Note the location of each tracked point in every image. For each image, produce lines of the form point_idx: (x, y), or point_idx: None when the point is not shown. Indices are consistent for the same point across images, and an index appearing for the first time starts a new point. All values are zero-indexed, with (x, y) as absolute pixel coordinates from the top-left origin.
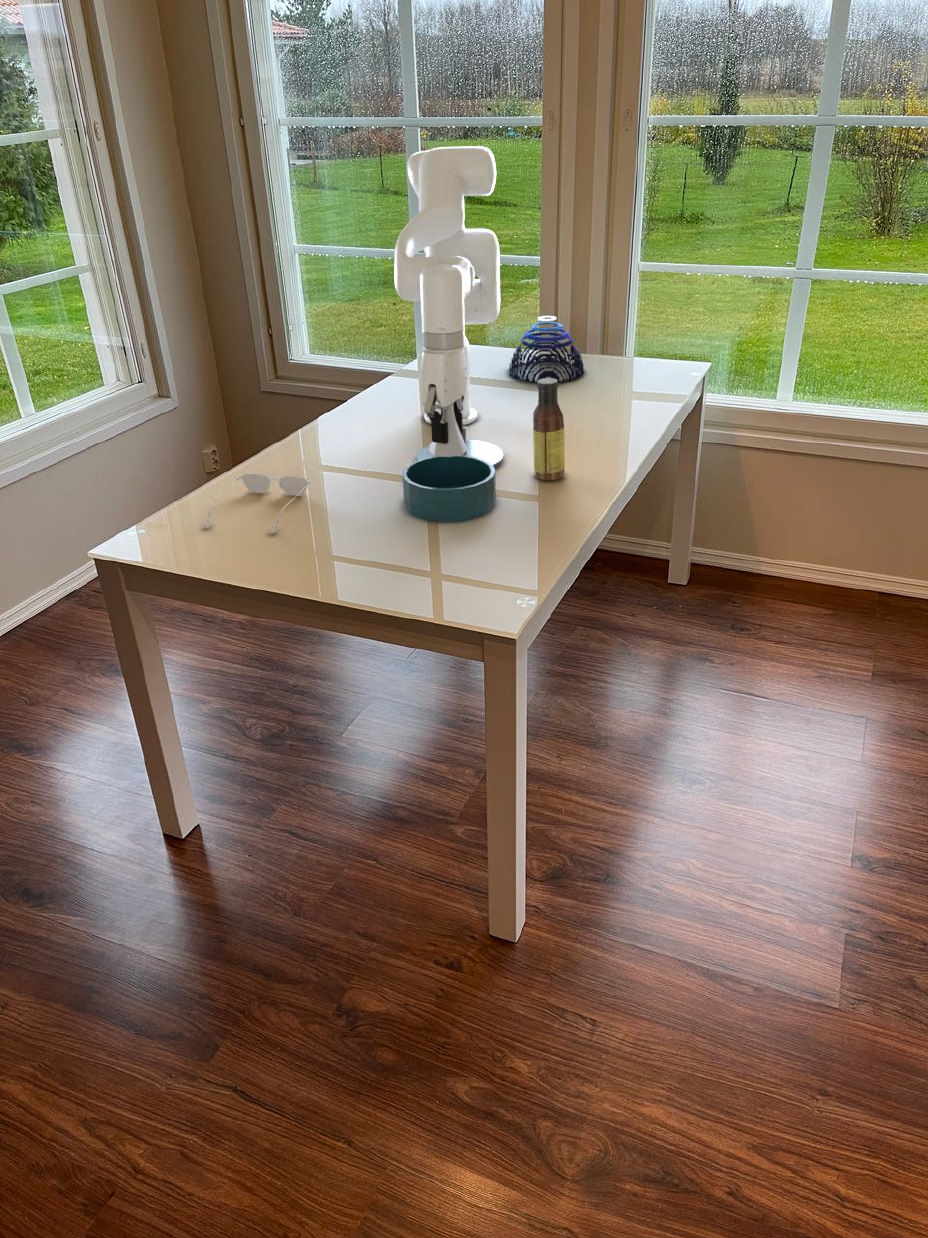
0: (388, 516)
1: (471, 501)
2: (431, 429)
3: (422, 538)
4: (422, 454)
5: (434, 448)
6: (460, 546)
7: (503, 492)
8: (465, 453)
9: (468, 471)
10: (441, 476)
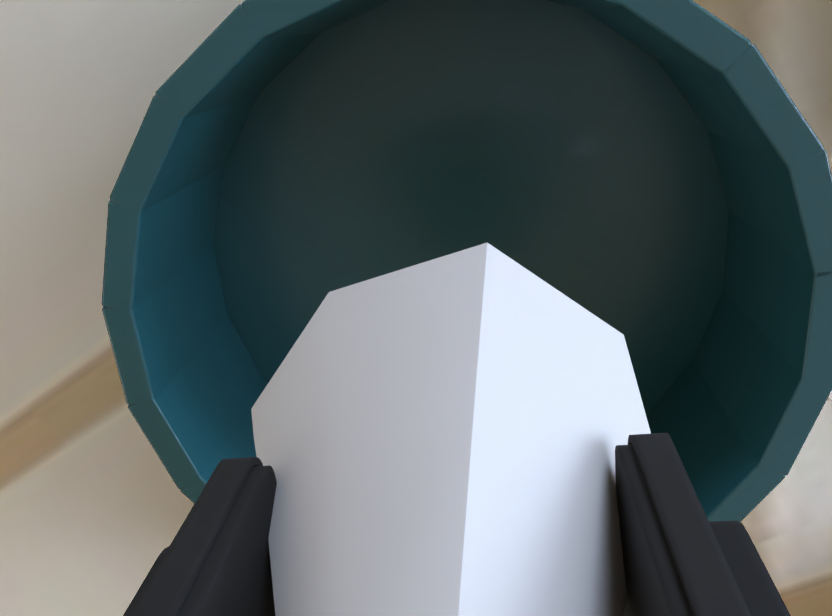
0: (107, 39)
1: None
2: (166, 558)
3: (36, 364)
4: None
5: (268, 424)
6: (92, 537)
7: None
8: None
9: (760, 282)
10: (686, 83)
